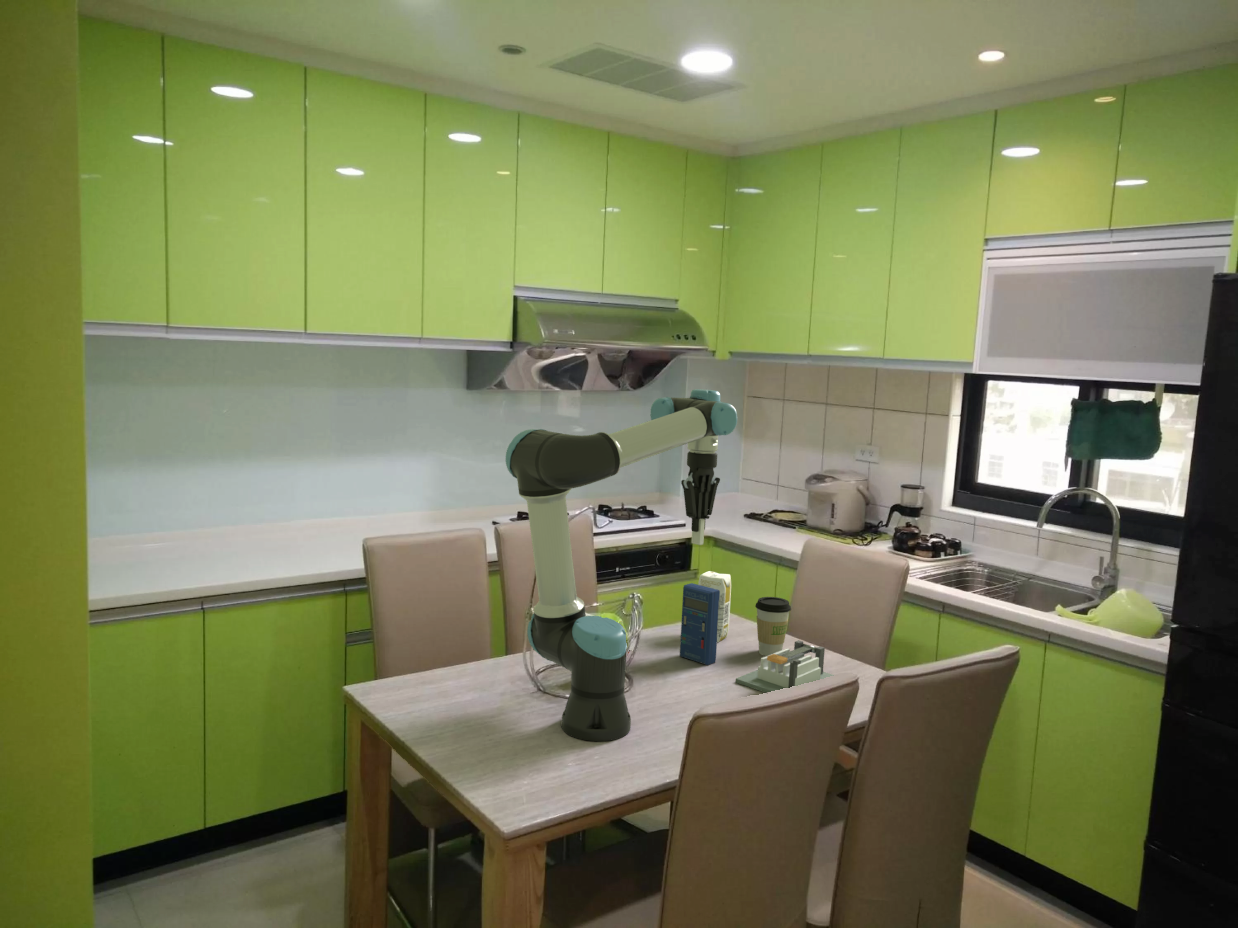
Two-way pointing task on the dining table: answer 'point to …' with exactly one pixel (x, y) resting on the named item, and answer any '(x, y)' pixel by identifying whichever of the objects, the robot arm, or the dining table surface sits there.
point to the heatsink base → (786, 671)
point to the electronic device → (699, 623)
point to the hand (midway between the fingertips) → (697, 543)
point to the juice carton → (724, 586)
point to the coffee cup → (771, 624)
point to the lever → (791, 654)
